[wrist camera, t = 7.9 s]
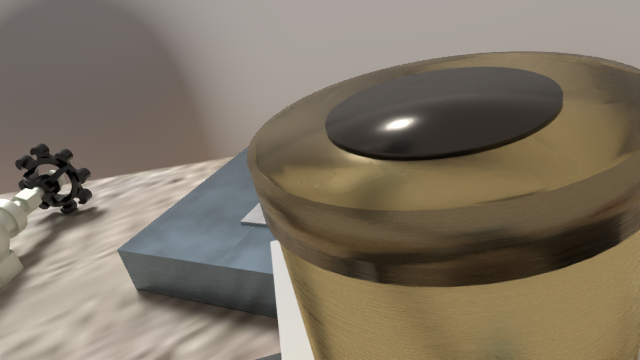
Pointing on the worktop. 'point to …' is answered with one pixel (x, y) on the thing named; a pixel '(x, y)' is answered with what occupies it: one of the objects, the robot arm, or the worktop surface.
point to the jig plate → (209, 246)
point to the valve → (37, 200)
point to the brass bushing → (462, 209)
